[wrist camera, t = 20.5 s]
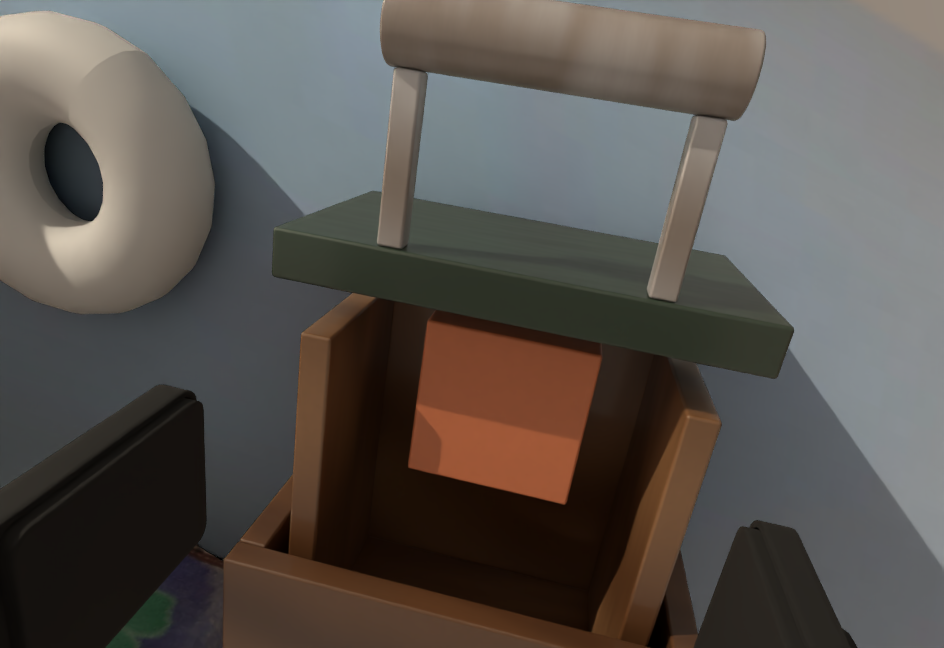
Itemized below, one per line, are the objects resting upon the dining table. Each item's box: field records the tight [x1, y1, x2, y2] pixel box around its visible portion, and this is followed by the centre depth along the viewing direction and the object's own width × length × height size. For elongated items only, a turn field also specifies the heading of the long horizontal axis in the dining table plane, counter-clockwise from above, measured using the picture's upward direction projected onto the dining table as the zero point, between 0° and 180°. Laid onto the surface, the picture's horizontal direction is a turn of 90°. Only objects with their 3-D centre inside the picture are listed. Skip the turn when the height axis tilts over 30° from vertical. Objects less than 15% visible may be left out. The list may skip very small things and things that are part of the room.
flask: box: [106, 545, 225, 648], centre depth 23 cm, size 9×3×11 cm, turn 64°
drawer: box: [272, 0, 794, 646], centre depth 18 cm, size 19×11×7 cm, turn 171°
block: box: [408, 310, 602, 504], centre depth 18 cm, size 4×4×4 cm
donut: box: [0, 11, 215, 314], centre depth 21 cm, size 10×3×10 cm
